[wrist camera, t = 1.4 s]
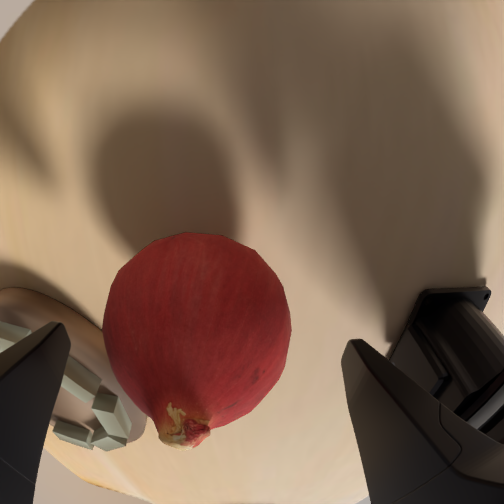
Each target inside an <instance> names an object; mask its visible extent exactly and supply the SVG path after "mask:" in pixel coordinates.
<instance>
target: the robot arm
mask: <svg viewBox="0 0 504 504" xmlns="http://www.w3.org/2000/svg"><path fill="white" fill-rule="evenodd" d="M490 296H491V290H490V289H489V288H488V287H470V288H447V289H427V290H425V291H423V292H422V293H421V294H420V296H419V297H418V300H417V302H416V305H415V307H414V309H413V312H412V314H411V316H410V319H409V321H408V323H407V325H406V328H405V330H404V332H403V334H402V336H401V338H400V340H399V342H398V344H397V346H396V348H395V350H394V352H393V354H392V356H391V358H390V360H388V359H386V358H385V357H384V356H383V355H381V354H380V353H379V352H378V351H376V350H375V349H374V348H373V347H372V346H370V345H369V344H368V343H367V342H365V341H364V340H363V339H351V340H349V341H348V343H347V345H346V348H345V350H344V353H343V356H342V359H341V366H342V372H343V378H344V385H345V391H346V398H347V404H348V409H349V413H350V417H351V420H352V424H353V428H354V432H355V436H356V440H357V444H358V448H359V452H360V456H361V461H362V465H363V469H364V474H365V478H366V482H367V487H368V492H369V496H370V501H371V504H504V336H503V334H502V333H501V332H500V331H499V330H498V329H497V327H496V326H495V325H494V324H493V323H492V322H491V321H490V319H489V318H488V317H487V316H486V315H485V314H484V313H483V310H484V308H485V306H486V304H487V302H488V300H489V298H490ZM426 299H427V300H426ZM70 349H71V341H70V338H69V335H68V333H67V330H66V328H65V325H64V324H63V323H62V322H58V321H51V322H49V323H47V324H46V325H44V326H43V327H41V328H39V329H38V330H36V331H34V332H33V333H31V334H30V335H28V336H26V337H25V338H23V339H21V340H20V341H18V342H17V343H15V344H14V345H12V346H10V347H9V348H7V349H6V350H4V351H3V352H1V353H0V504H33V497H34V491H35V483H36V479H37V473H38V468H39V463H40V458H41V454H42V450H43V446H44V442H45V438H46V434H47V430H48V426H49V423H50V419H51V416H52V412H53V409H54V406H55V403H56V400H57V397H58V394H59V390H60V387H61V384H62V380H63V376H64V372H65V368H66V364H67V360H68V356H69V352H70Z"/></svg>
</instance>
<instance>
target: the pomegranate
mask: <svg viewBox="0 0 504 504" xmlns="http://www.w3.org/2000/svg"><path fill="white" fill-rule="evenodd" d="M291 331H292V329H291V318H290V311H289V307H288V304H287V300H286V296H285V292H284V288H283V286H282V284H281V282H280V280H279V279H278V277H277V275H276V274H275V272H274V271H273V270H272V269H271V268H270V267H269V266H268V264H267V263H266V262H265V261H264V260H263V259H262V258H261V256H260V255H259V254H258V253H257V252H256V251H255V250H253V249H251V248H249V247H247V246H244V245H242V244H240V243H238V242H236V241H233V240H231V239H229V238H227V237H225V236H222V235H211V234H200V233H188V232H185V233H181V234H178V235H174V236H170V237H166V238H163V239H159V240H156V241H153V242H152V243H151V244H149V245H148V246H147V247H145V248H144V249H142V250H141V251H140V252H139V253H138V254H137V255H136V256H134V257H133V258H132V259H131V260H130V261H129V262H128V263H126V264H125V265H124V266H123V267H122V268H121V269H120V270H119V271H118V273H117V275H116V277H115V279H114V281H113V283H112V285H111V288H110V292H109V296H108V300H107V304H106V308H105V312H104V319H103V327H102V332H103V338H104V344H105V348H106V352H107V355H108V359H109V362H110V366H111V369H112V371H113V373H114V375H115V378H116V380H117V381H118V383H119V384H120V386H121V387H122V389H123V390H124V392H125V393H126V394H127V395H128V397H129V398H130V399H131V400H132V401H133V403H134V404H135V405H136V406H137V407H138V408H139V409H140V410H141V411H142V412H143V413H145V414H146V415H147V416H149V417H150V418H151V419H152V420H153V421H154V424H155V426H156V429H157V431H158V433H159V439H160V440H161V441H162V442H163V443H164V444H166V445H168V446H171V447H173V448H176V449H179V450H181V451H184V450H190V449H192V448H194V447H196V446H198V445H199V444H200V443H201V442H202V441H203V440H204V439H205V438H206V437H208V436H209V435H210V430H211V429H213V428H217V427H221V426H224V425H226V424H228V423H230V422H232V421H234V420H236V419H238V418H240V417H242V416H244V415H246V414H248V413H249V412H251V411H252V410H253V409H254V408H255V407H256V406H257V405H258V404H259V403H260V402H261V401H262V399H263V398H264V397H265V396H266V395H267V394H268V392H269V391H270V390H271V389H272V388H273V386H274V385H275V384H276V383H277V381H278V380H279V378H280V376H281V374H282V372H283V370H284V367H285V363H286V357H287V352H288V347H289V342H290V336H291Z"/></svg>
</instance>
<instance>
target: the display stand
mask: <svg viewBox="0 0 504 504" xmlns="http://www.w3.org/2000/svg"><path fill="white" fill-rule="evenodd" d="M51 321H58V322H62V323H63V324H64V325H65V328H66V330H67V333H68V335H69V338H70V341H71V349H70V352H69V356H68V360H67V364H66V368H65V372H64V376H63V380H62V384H61V387H60V390H59V394H58V397H57V400H56V403H55V406H54V409H53V412H52V416H51V419H50V423H49V424H50V425H52V426H54V429H53V432H54V433H55V435H56V436H57V437H58V438H59V439H60V440H63V441H66V442H69V443H72V444H75V445H78V446H81V447H84V448H87V449H91V450H93V447H94V445H95V446H97V447H99V448H101V449H102V450H104V451H110V450H114V449H117V448H121V447H124V446H126V443H130V442H133V441H135V440H137V439H138V438H140V437H141V436H142V434H143V433H144V430H145V426H146V421H147V415H146V414H145V413H143V412H142V411H141V410H140V409H139V408H138V407H137V406H136V405H135V404H134V403H133V401H132V400H131V399H130V398H129V397H128V395H127V394H126V393H125V392H124V390H123V389H122V387H121V386H120V384H119V383H118V381H117V380H116V378H115V375H114V373H113V371H112V369H111V366H110V362H109V359H108V355H107V352H106V348H105V344H104V338H103V332H102V331H101V330H100V329H99V328H97V327H96V326H95V325H93V324H92V323H91V322H89V321H88V320H87V319H86V318H84V317H83V316H81V315H79V314H78V313H77V312H75V311H74V310H72V309H70V308H69V307H67V306H65V305H64V304H62V303H60V302H58V301H56V300H54V299H52V298H50V297H48V296H46V295H44V294H41V293H38V292H36V291H33V290H29V289H24V288H16V287H11V288H5V289H2V290H0V353H1V352H3V351H4V350H6V349H7V348H9V347H10V346H12V345H14V344H15V343H17V342H18V341H20V340H21V339H23V338H25V337H26V336H28V335H30V334H31V333H33V332H34V331H36V330H38V329H39V328H41V327H43V326H44V325H46V324H47V323H49V322H51Z"/></svg>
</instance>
